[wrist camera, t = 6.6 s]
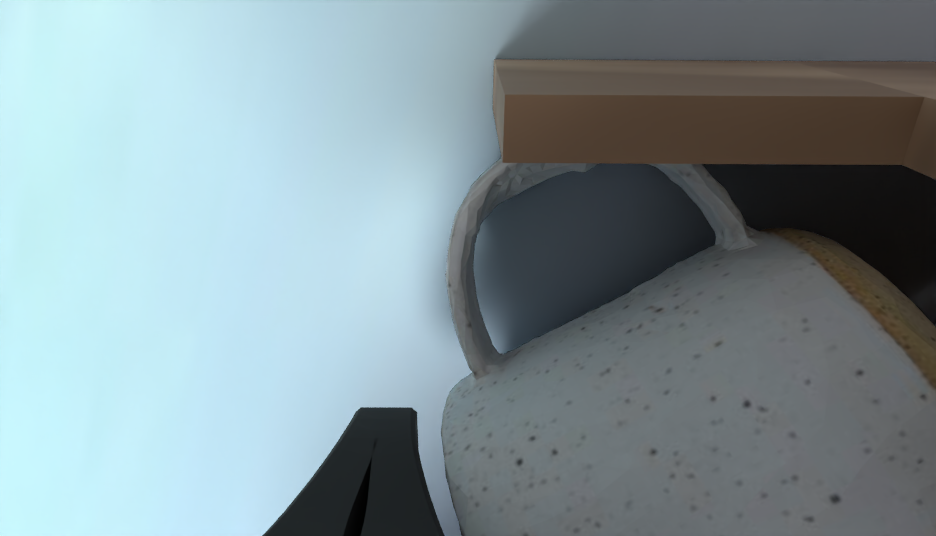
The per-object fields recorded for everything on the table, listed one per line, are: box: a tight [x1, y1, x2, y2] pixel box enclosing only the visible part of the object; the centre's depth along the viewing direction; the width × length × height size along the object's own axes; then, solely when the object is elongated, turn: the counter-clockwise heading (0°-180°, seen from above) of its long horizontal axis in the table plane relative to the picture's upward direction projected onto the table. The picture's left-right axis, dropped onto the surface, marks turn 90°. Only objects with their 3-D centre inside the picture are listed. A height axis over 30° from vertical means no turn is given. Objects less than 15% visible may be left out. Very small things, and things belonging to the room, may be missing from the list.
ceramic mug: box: [441, 157, 936, 536], centre depth 11 cm, size 11×8×8 cm
